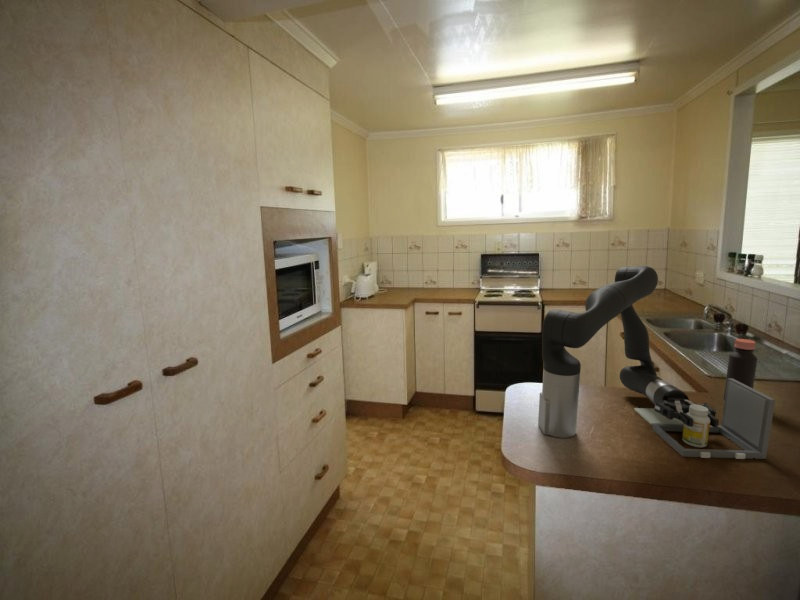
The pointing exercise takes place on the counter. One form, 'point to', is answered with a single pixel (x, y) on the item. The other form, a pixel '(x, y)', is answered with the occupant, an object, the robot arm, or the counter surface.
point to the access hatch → (734, 424)
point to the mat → (656, 417)
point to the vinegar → (742, 363)
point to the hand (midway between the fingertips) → (704, 423)
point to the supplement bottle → (697, 427)
